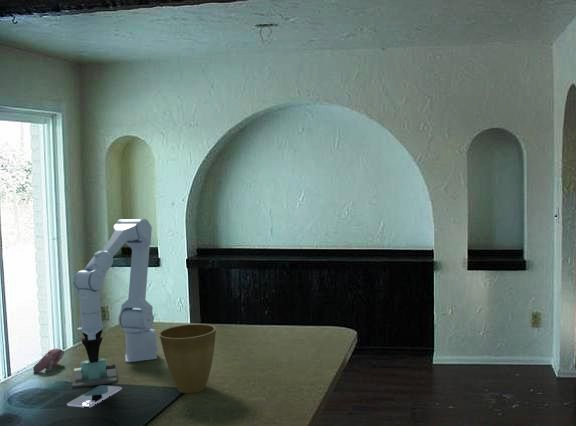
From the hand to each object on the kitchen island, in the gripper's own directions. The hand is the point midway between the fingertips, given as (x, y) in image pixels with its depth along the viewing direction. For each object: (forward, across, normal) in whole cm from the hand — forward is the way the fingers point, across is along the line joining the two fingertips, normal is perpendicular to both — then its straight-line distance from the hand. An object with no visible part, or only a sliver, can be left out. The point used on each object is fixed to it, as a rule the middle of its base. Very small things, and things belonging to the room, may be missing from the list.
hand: (94, 358), depth 190 cm
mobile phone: (+6, +16, 0) cm, 17 cm away
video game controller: (+6, -17, -14) cm, 22 cm away
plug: (+5, 0, 0) cm, 5 cm away
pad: (+6, 0, 0) cm, 6 cm away
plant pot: (+6, +20, +25) cm, 33 cm away
